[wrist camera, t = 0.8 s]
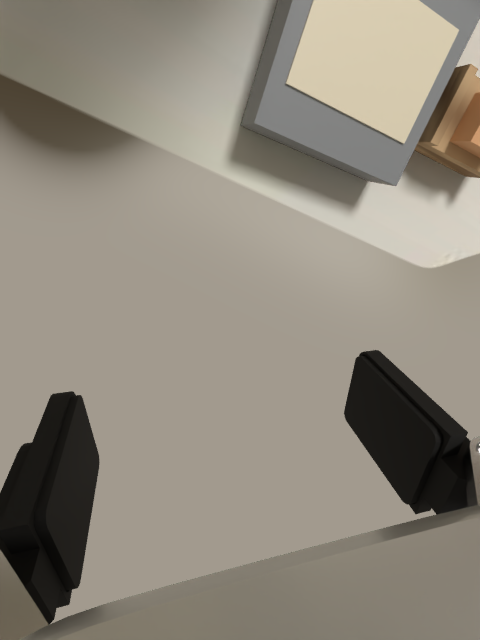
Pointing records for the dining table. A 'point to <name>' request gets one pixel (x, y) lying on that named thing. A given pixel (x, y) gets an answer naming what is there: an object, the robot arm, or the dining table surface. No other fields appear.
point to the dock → (357, 78)
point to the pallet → (451, 124)
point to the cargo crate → (469, 128)
